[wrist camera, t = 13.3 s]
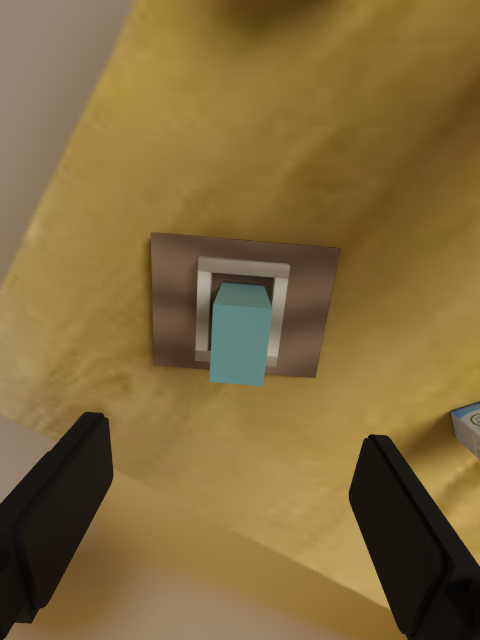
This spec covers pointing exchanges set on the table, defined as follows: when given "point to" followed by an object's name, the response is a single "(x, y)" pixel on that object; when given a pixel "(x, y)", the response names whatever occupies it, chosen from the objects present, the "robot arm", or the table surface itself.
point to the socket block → (240, 266)
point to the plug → (240, 333)
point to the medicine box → (468, 427)
